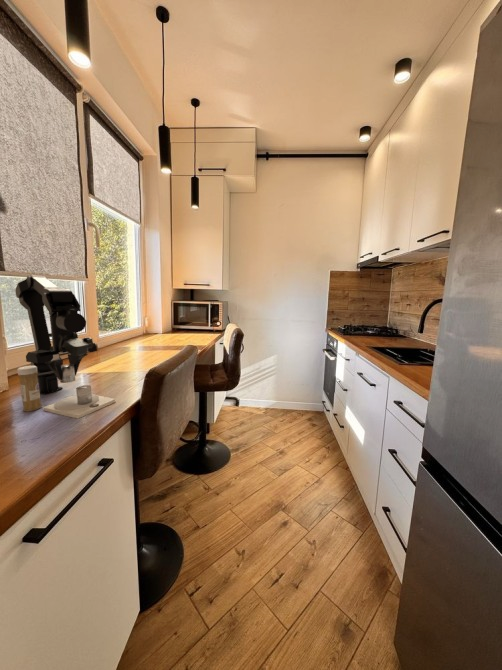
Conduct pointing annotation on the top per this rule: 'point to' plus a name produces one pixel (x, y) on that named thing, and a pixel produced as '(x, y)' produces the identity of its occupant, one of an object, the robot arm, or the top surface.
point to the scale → (78, 406)
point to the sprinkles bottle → (29, 388)
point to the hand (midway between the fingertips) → (67, 377)
